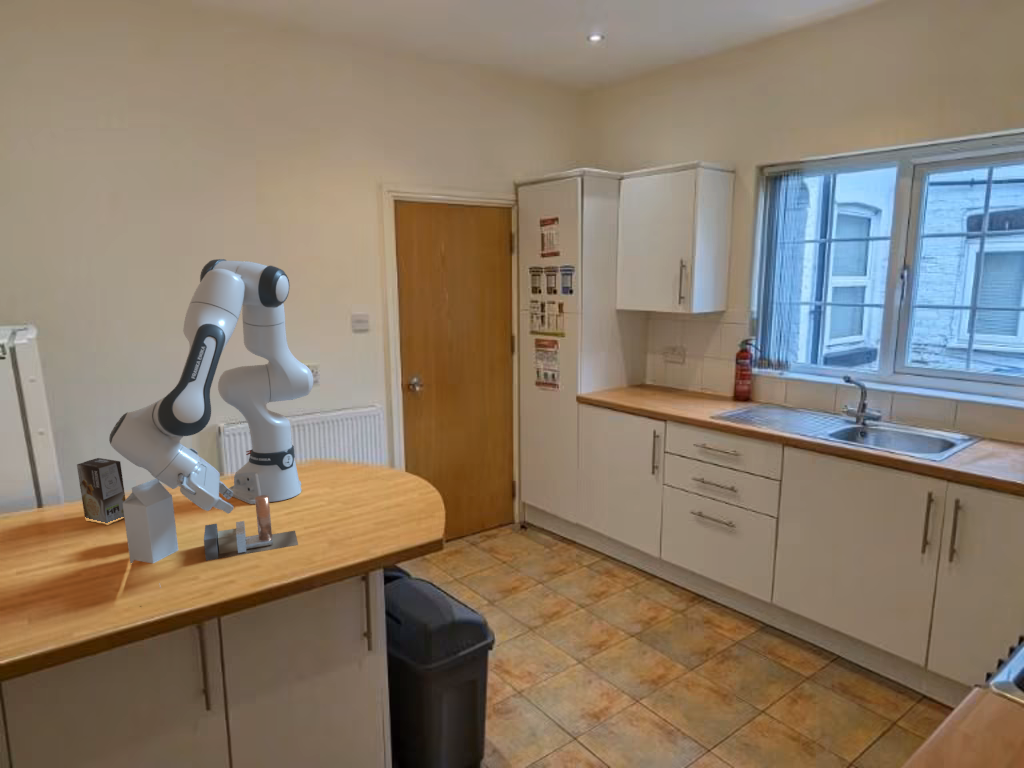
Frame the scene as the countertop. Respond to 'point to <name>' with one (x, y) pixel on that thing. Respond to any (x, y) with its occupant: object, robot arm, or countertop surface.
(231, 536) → the block
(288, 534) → the base
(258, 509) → the press handle
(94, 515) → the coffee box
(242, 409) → the robot arm
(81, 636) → the countertop surface
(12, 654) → the countertop surface
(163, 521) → the milk carton
